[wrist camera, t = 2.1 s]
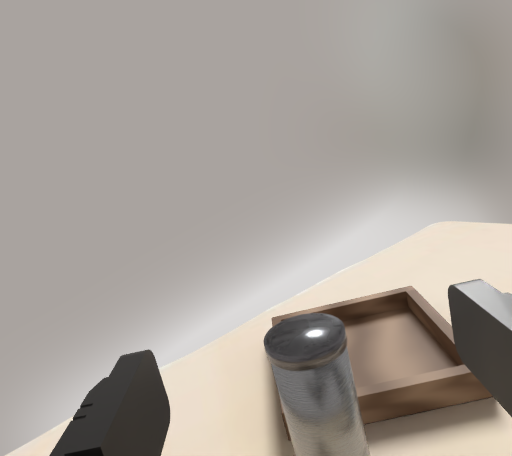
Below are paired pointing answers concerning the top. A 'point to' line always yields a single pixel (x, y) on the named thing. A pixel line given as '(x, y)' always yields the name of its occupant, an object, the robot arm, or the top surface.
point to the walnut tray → (400, 355)
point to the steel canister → (317, 385)
